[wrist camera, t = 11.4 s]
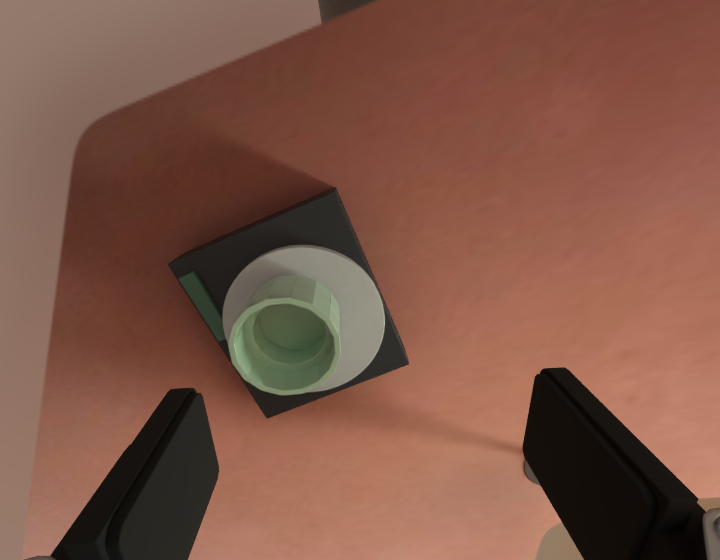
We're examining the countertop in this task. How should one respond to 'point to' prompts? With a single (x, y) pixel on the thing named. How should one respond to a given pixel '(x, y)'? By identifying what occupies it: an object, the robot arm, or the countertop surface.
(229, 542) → the countertop surface
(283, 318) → the bowl
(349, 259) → the scale
